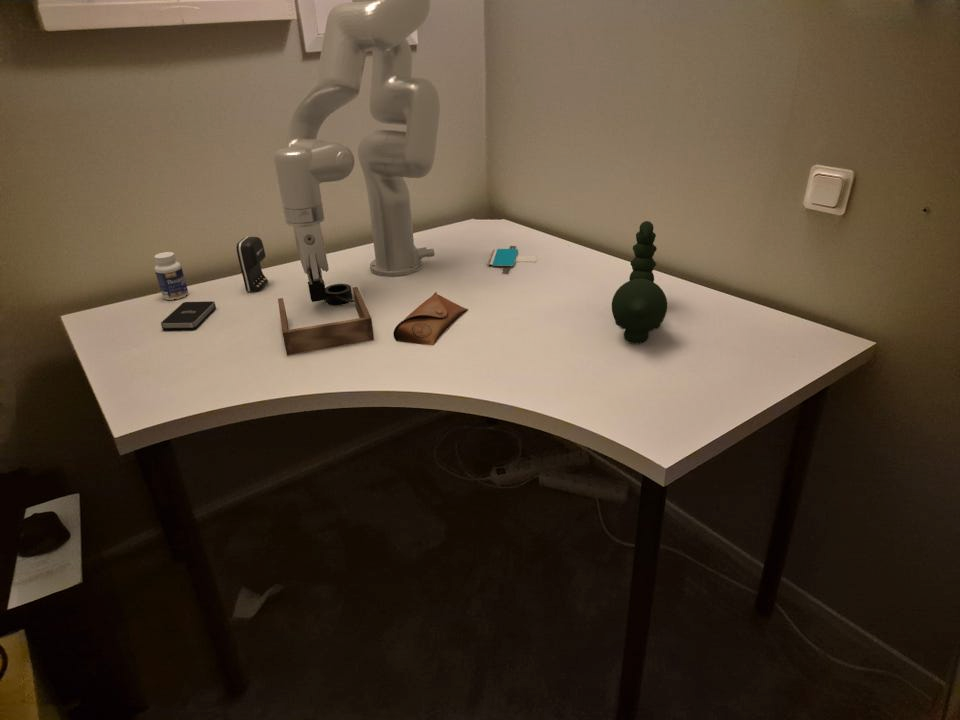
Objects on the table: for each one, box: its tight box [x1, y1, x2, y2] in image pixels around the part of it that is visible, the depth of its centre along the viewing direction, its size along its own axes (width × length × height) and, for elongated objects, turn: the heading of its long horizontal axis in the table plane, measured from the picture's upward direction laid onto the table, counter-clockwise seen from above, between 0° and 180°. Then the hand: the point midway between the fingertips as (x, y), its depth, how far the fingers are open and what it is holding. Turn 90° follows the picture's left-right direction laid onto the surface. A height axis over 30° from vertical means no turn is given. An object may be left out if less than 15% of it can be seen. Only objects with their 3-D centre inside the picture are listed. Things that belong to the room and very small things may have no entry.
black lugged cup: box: [324, 283, 355, 307], centre depth 135 cm, size 8×10×3 cm
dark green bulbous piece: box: [611, 220, 668, 345], centre depth 115 cm, size 10×19×26 cm
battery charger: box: [236, 235, 269, 293], centre depth 141 cm, size 7×4×11 cm, turn 176°
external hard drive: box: [160, 300, 217, 332], centre depth 129 cm, size 7×11×2 cm, turn 178°
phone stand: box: [487, 245, 538, 275], centre depth 154 cm, size 20×12×2 cm, turn 172°
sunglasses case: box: [392, 291, 469, 346], centre depth 123 cm, size 18×7×7 cm
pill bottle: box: [154, 251, 189, 301], centre depth 139 cm, size 5×5×10 cm
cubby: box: [277, 286, 375, 356], centre depth 122 cm, size 16×17×4 cm
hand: (318, 299), depth 132 cm, fingers closed
